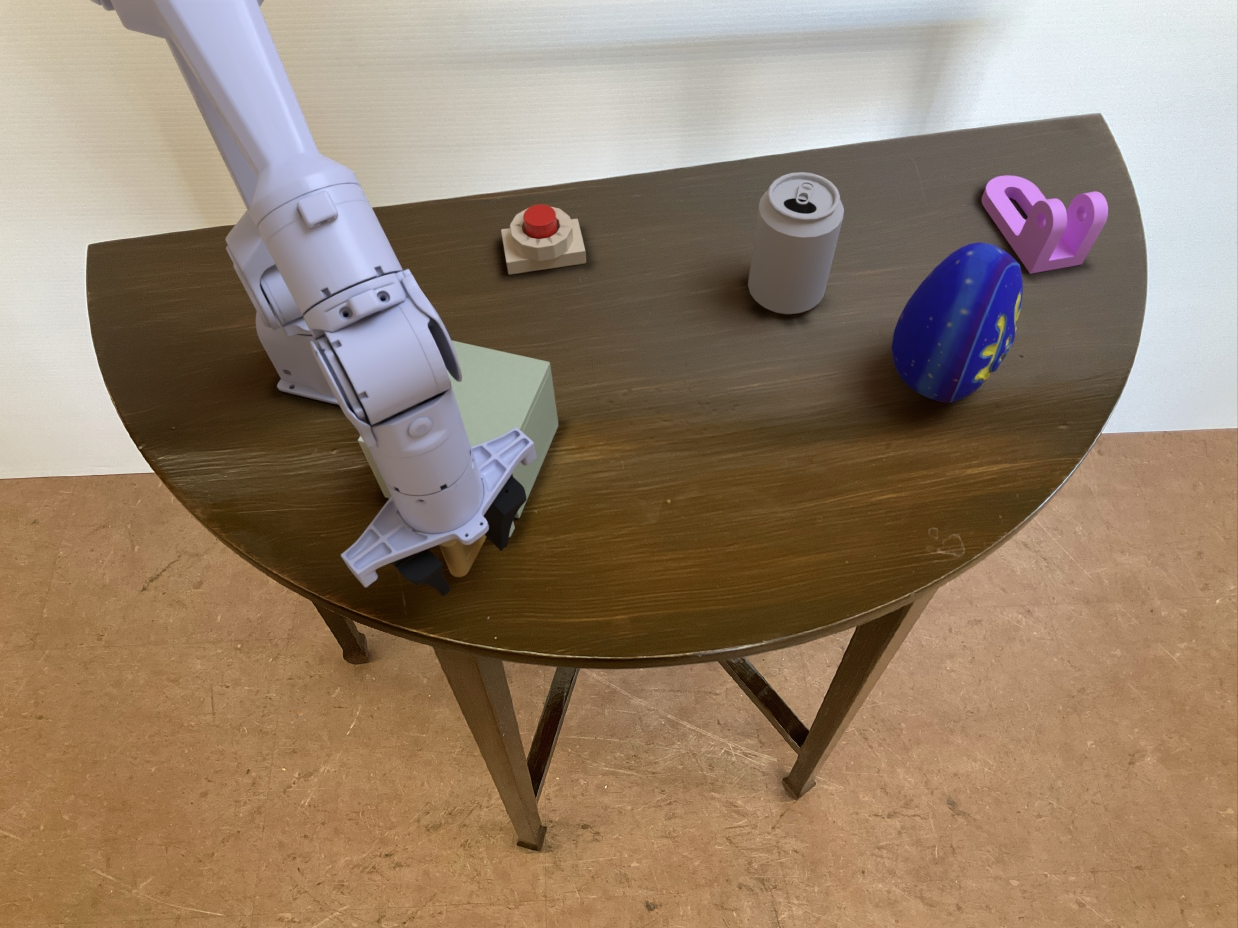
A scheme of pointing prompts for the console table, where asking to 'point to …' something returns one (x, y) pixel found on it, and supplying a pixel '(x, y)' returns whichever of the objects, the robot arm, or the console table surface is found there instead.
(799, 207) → the can
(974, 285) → the ornament
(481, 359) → the cupboard
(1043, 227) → the bracket
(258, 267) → the robot arm
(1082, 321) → the console table surface
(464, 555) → the door
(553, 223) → the button
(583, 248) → the button box
